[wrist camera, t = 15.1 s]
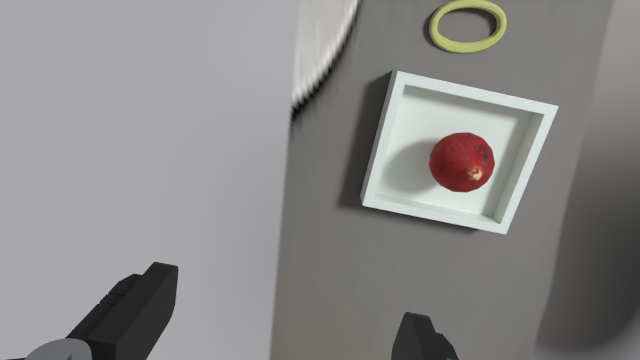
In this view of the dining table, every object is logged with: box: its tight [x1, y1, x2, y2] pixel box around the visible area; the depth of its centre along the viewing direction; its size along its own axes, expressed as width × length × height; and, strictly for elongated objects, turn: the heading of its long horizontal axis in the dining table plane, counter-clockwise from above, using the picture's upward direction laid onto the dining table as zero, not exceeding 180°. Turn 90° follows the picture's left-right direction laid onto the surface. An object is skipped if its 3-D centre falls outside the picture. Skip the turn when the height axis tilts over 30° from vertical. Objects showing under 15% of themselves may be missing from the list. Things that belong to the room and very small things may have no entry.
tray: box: [360, 71, 559, 234], centre depth 37 cm, size 14×16×3 cm
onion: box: [429, 132, 495, 193], centre depth 34 cm, size 6×6×8 cm
